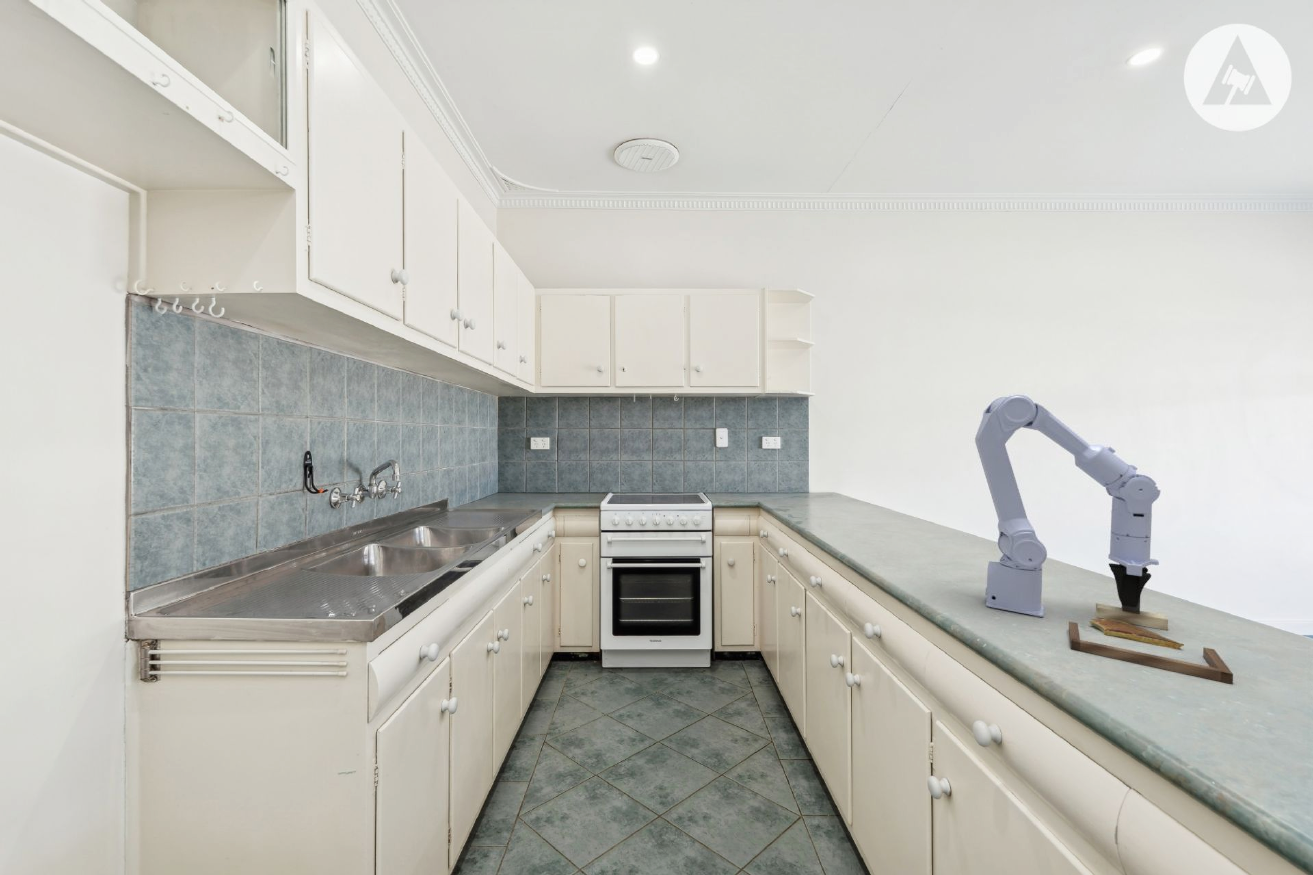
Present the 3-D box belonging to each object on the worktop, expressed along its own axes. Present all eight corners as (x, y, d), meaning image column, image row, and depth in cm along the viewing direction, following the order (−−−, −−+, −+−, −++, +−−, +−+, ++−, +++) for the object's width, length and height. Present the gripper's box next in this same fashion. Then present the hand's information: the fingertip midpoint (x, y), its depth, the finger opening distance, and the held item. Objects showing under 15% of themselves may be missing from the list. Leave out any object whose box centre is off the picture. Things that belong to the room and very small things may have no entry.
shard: (1184, 653, 86) (1184, 642, 86) (1141, 654, 85) (1142, 643, 85) (1121, 627, 97) (1121, 618, 97) (1083, 628, 96) (1083, 618, 96)
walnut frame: (1070, 649, 86) (1071, 640, 86) (1068, 629, 94) (1069, 621, 94) (1232, 684, 74) (1233, 674, 74) (1213, 658, 83) (1214, 649, 83)
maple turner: (1096, 617, 100) (1098, 582, 100) (1095, 613, 103) (1096, 578, 103) (1167, 630, 94) (1169, 593, 94) (1164, 625, 97) (1166, 589, 97)
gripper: (1166, 544, 90) (1163, 620, 91) (1152, 531, 102) (1150, 598, 102) (1113, 538, 95) (1110, 610, 95) (1105, 527, 106) (1103, 591, 106)
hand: (1127, 604), depth 99 cm, fingers closed on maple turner, 2 cm apart
